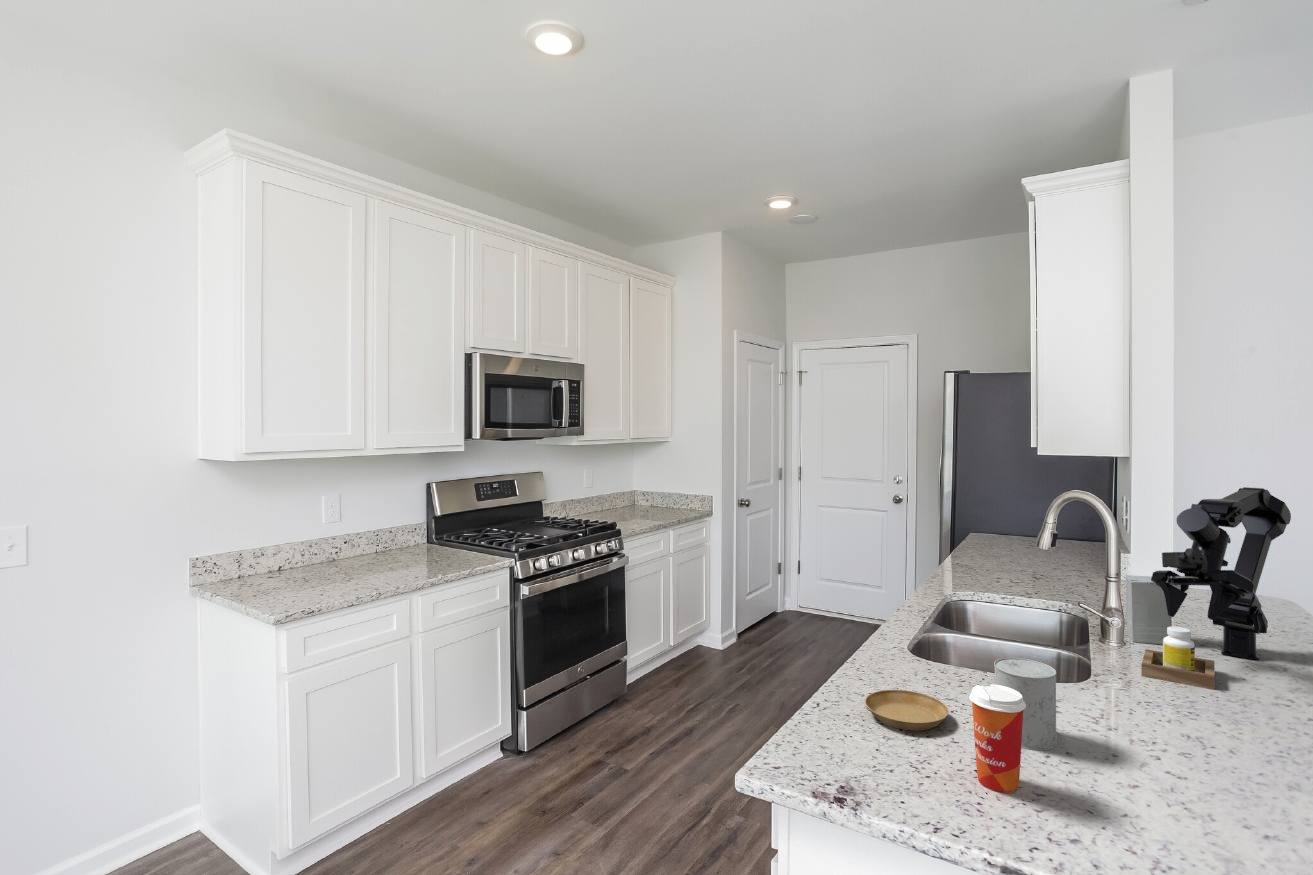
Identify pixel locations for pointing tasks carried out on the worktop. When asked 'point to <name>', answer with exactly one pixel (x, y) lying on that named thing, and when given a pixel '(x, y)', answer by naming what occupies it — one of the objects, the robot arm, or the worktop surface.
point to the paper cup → (998, 736)
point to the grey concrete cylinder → (1032, 698)
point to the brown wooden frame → (1178, 671)
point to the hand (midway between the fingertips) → (1189, 617)
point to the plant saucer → (906, 709)
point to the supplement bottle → (1179, 649)
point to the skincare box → (1146, 610)
